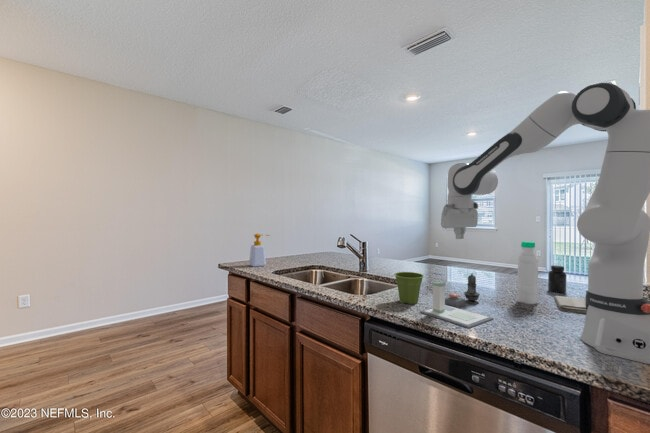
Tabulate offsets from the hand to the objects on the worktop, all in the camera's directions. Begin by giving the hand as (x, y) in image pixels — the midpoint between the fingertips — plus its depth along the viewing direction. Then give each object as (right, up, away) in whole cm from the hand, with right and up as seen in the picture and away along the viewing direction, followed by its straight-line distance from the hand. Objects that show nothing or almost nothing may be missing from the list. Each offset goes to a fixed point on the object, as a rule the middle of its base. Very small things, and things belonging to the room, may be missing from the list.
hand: (459, 239), depth 123 cm
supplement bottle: (+55, -27, +21) cm, 65 cm away
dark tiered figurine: (+6, -27, +4) cm, 27 cm away
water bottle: (+29, -27, +4) cm, 40 cm away
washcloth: (+44, -27, -2) cm, 52 cm away
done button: (-3, -26, 0) cm, 26 cm away
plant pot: (-19, -26, +4) cm, 33 cm away
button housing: (-3, -26, 0) cm, 26 cm away
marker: (-12, -26, -10) cm, 30 cm away
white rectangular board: (-7, -26, -13) cm, 30 cm away
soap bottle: (-99, -25, +91) cm, 137 cm away
